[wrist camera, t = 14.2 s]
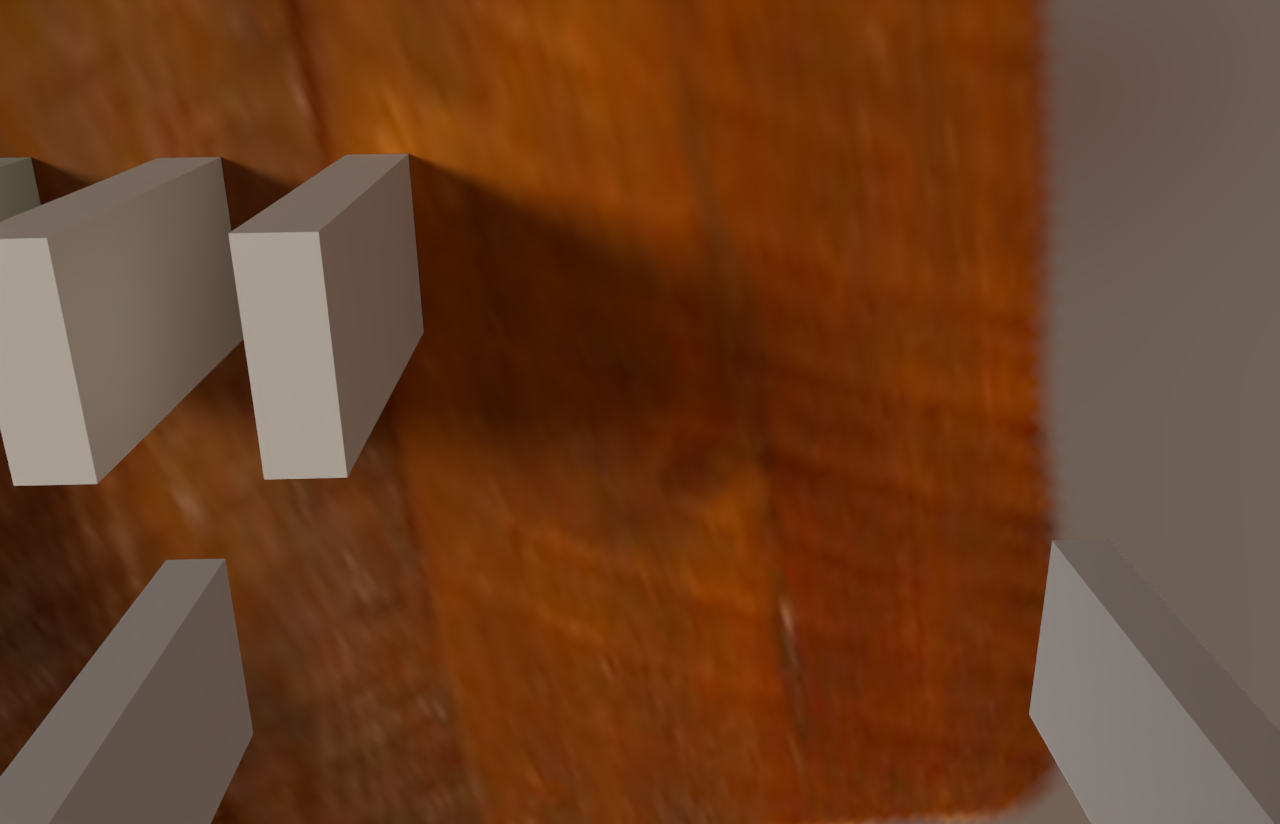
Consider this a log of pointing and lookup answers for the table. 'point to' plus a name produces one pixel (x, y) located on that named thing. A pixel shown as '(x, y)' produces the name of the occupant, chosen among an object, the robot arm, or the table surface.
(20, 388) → the domino
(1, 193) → the domino
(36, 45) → the table surface
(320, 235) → the domino
